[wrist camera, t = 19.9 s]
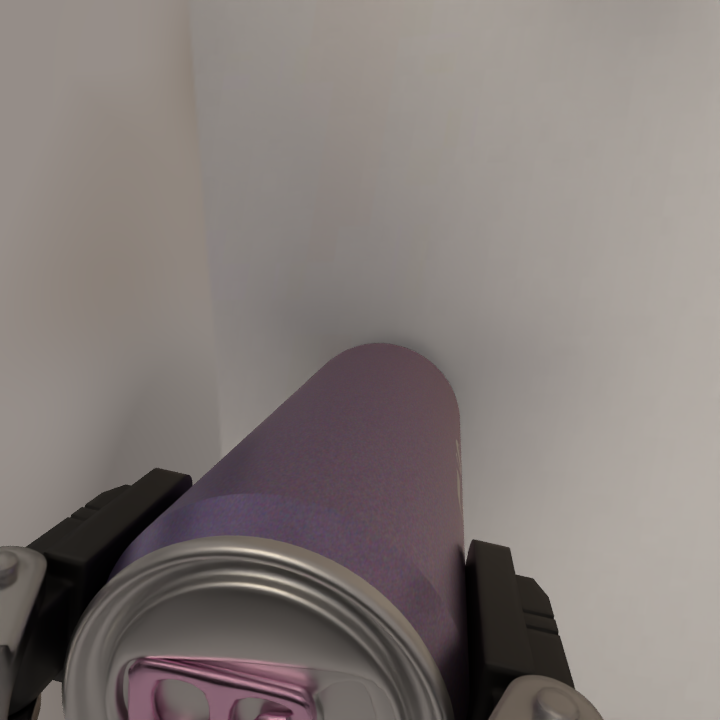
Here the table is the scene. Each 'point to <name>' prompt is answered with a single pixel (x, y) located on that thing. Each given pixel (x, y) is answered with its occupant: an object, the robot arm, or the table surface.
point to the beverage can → (299, 568)
